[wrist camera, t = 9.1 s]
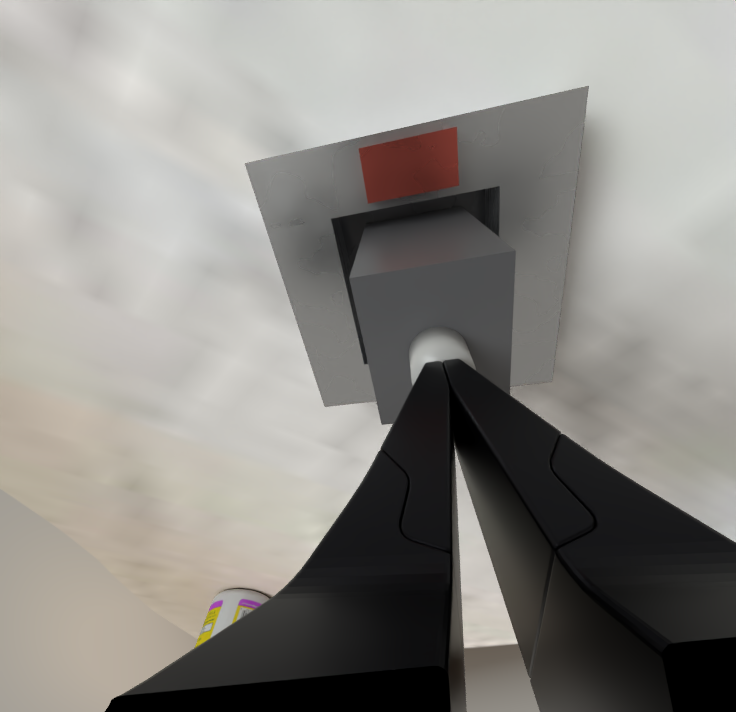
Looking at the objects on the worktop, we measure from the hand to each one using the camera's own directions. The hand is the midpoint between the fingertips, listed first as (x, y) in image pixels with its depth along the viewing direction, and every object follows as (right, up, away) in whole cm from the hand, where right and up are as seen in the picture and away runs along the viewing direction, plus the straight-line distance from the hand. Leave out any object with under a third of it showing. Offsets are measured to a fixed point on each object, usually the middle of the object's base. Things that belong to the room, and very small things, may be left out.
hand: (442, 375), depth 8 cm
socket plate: (0, +5, +7) cm, 9 cm away
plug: (0, +4, +7) cm, 8 cm away
